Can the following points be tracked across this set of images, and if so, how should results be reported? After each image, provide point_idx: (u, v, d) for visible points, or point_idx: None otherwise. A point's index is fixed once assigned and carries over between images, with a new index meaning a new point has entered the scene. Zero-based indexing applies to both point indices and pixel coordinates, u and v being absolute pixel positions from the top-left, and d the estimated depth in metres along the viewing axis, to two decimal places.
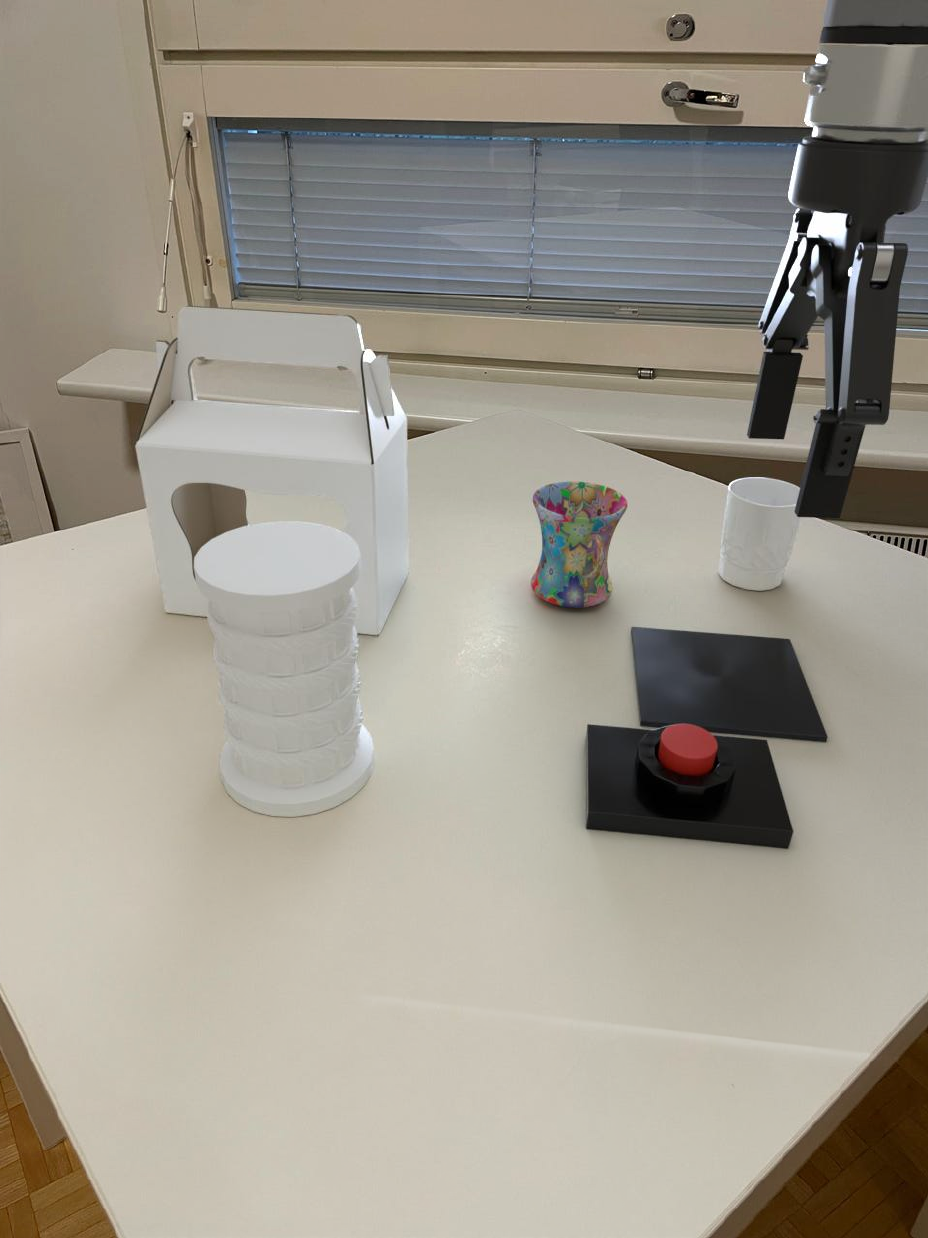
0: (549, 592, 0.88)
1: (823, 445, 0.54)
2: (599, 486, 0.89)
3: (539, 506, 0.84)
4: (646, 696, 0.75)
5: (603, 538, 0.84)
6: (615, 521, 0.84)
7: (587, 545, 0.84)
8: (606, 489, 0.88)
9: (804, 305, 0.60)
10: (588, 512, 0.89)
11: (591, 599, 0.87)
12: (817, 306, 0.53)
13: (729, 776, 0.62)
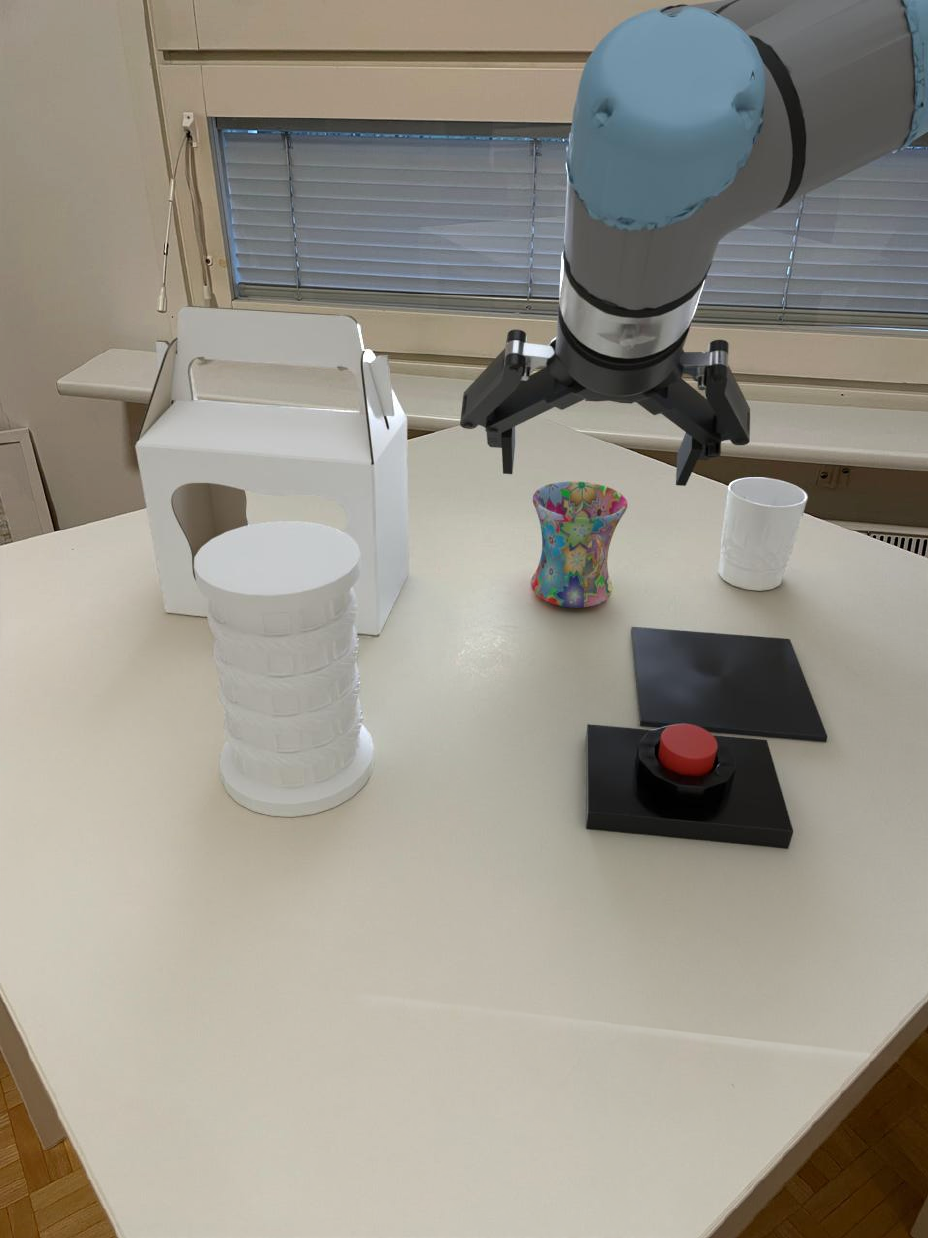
0: (549, 592, 0.88)
1: None
2: (599, 486, 0.89)
3: (539, 506, 0.84)
4: (646, 696, 0.75)
5: (603, 538, 0.84)
6: (615, 521, 0.84)
7: (587, 545, 0.84)
8: (606, 489, 0.88)
9: None
10: (588, 512, 0.89)
11: (591, 599, 0.87)
12: (654, 412, 0.57)
13: (729, 776, 0.62)
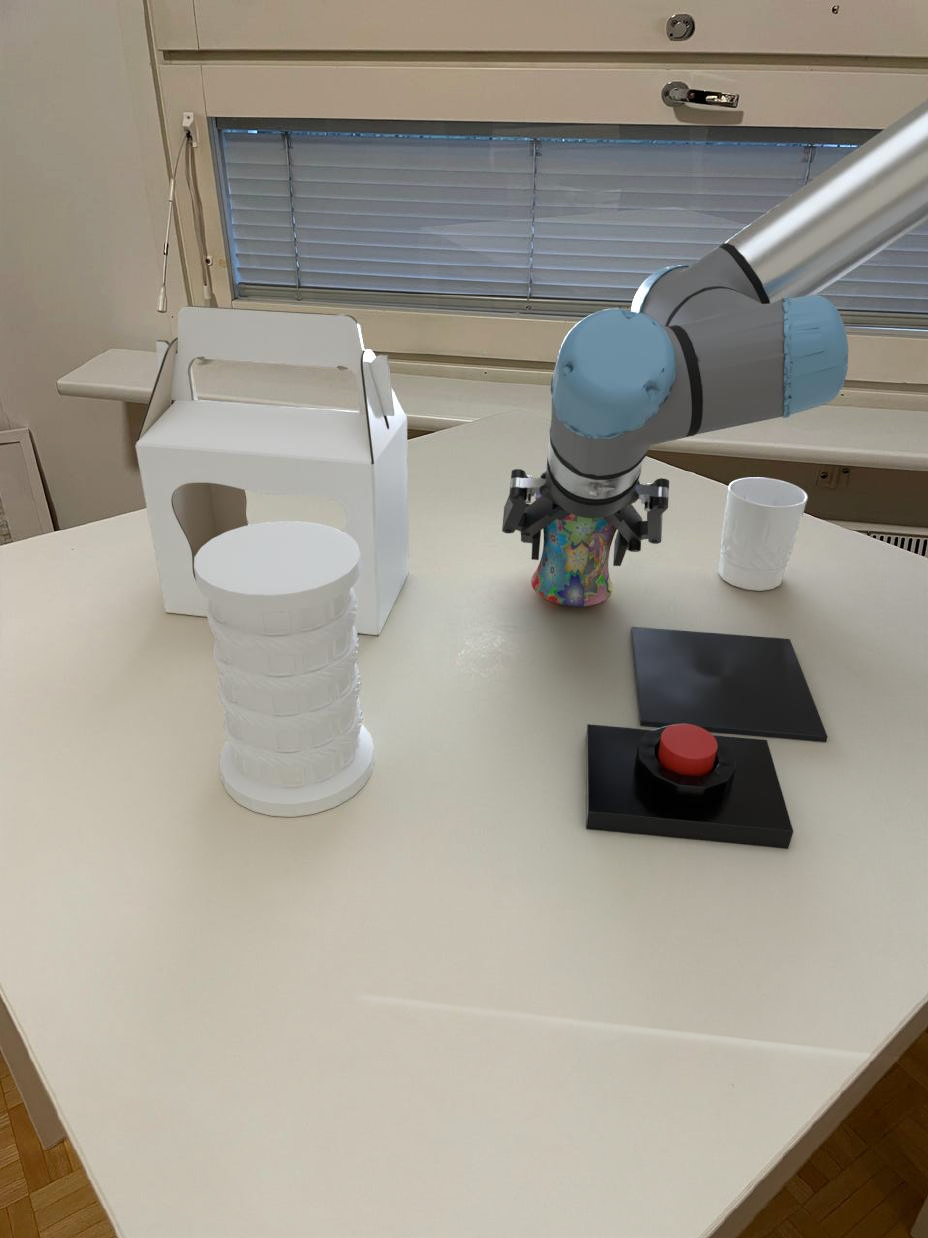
0: (550, 590, 0.88)
1: None
2: None
3: None
4: (646, 696, 0.75)
5: (605, 537, 0.84)
6: None
7: (589, 544, 0.84)
8: None
9: None
10: None
11: (591, 598, 0.87)
12: (609, 522, 0.77)
13: (729, 776, 0.62)
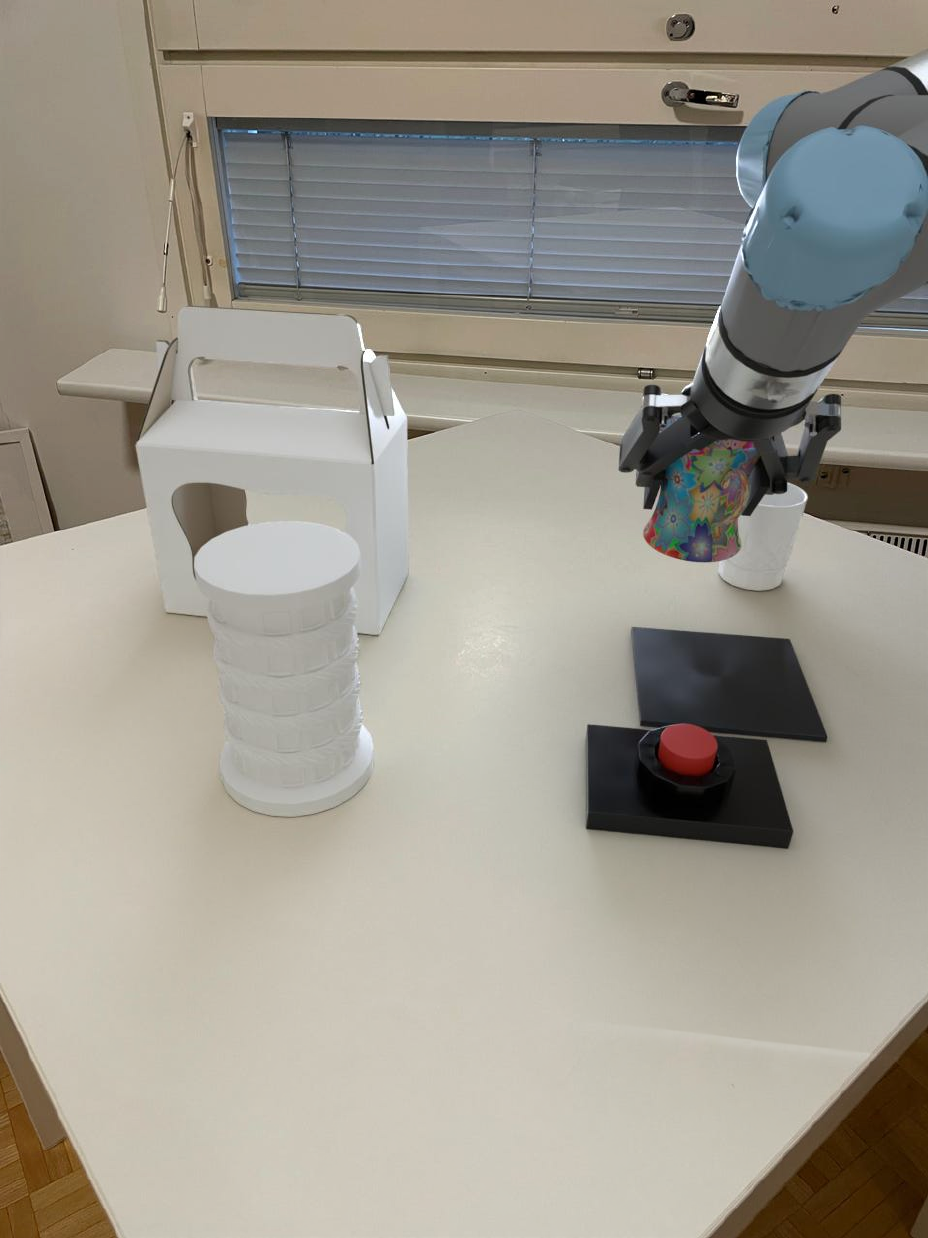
0: (670, 543, 0.73)
1: None
2: None
3: None
4: (646, 696, 0.75)
5: None
6: (758, 456, 0.70)
7: (723, 485, 0.70)
8: None
9: None
10: None
11: (720, 552, 0.73)
12: (760, 452, 0.63)
13: (729, 776, 0.62)
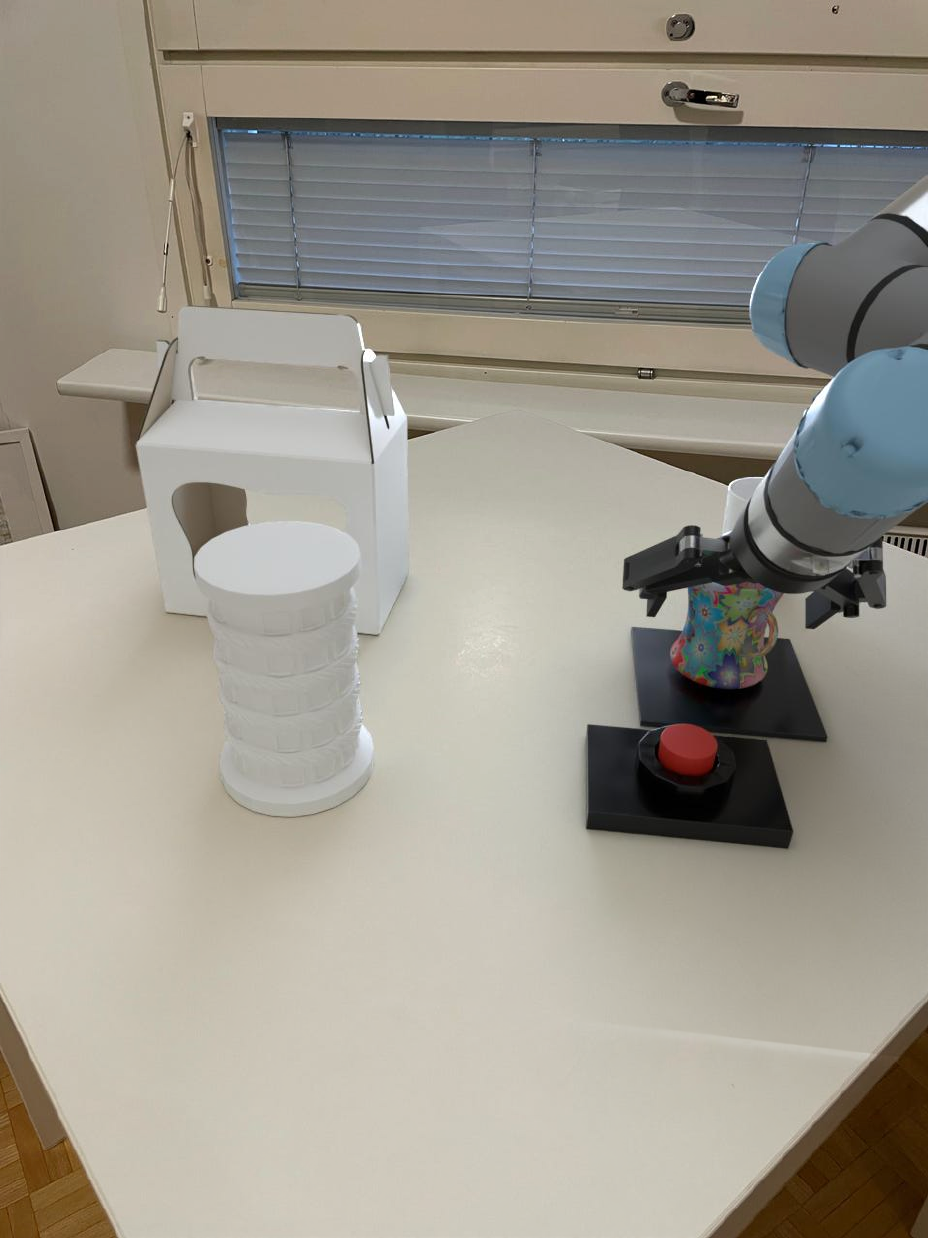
0: (698, 671, 0.75)
1: None
2: None
3: None
4: (646, 696, 0.75)
5: None
6: None
7: (750, 620, 0.71)
8: None
9: None
10: None
11: (748, 680, 0.75)
12: None
13: (729, 776, 0.62)
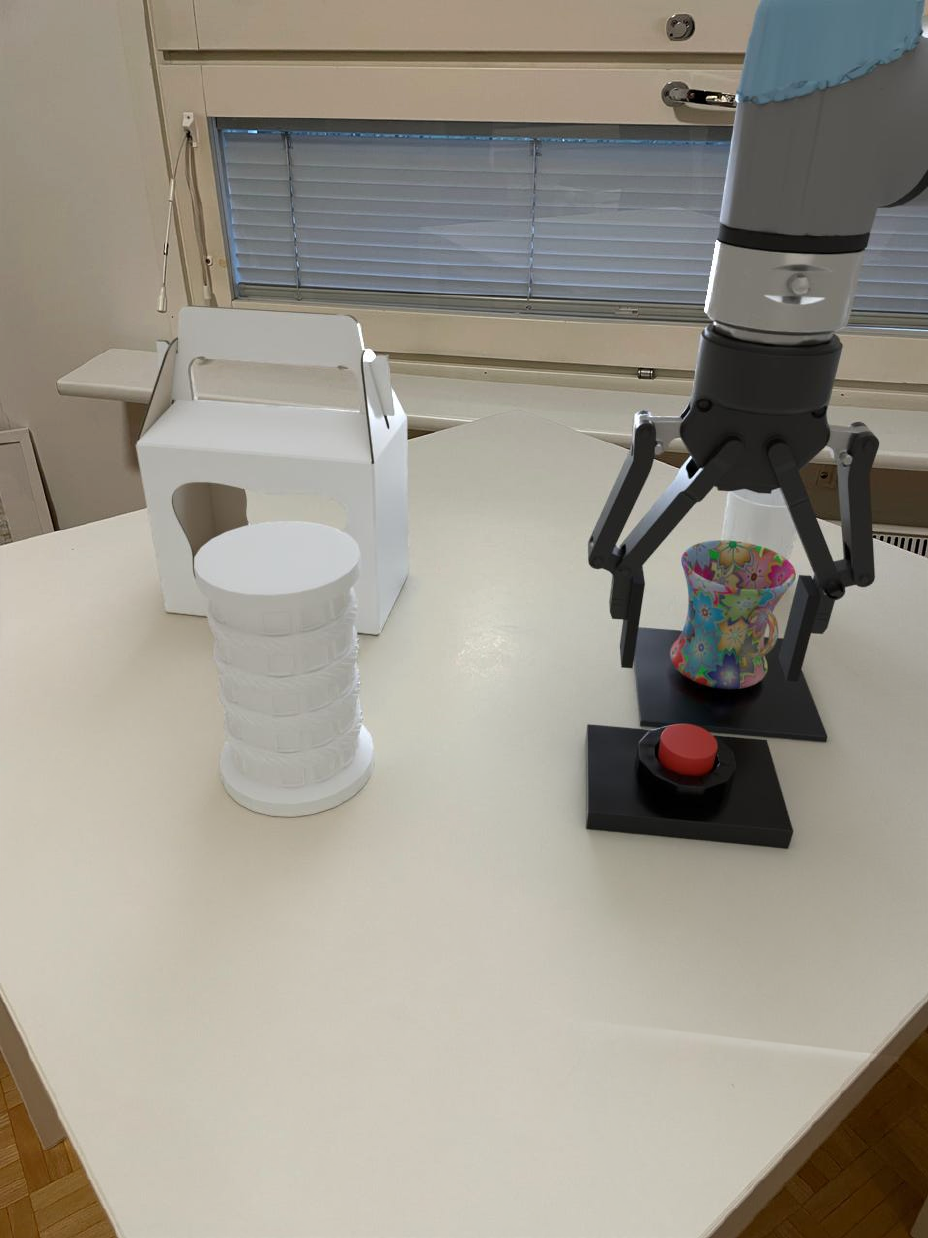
0: (698, 671, 0.75)
1: None
2: (754, 546, 0.76)
3: (694, 574, 0.71)
4: (646, 696, 0.75)
5: None
6: (784, 592, 0.71)
7: (750, 620, 0.71)
8: (764, 550, 0.76)
9: None
10: (740, 576, 0.77)
11: (748, 680, 0.75)
12: (790, 499, 0.51)
13: (729, 776, 0.62)
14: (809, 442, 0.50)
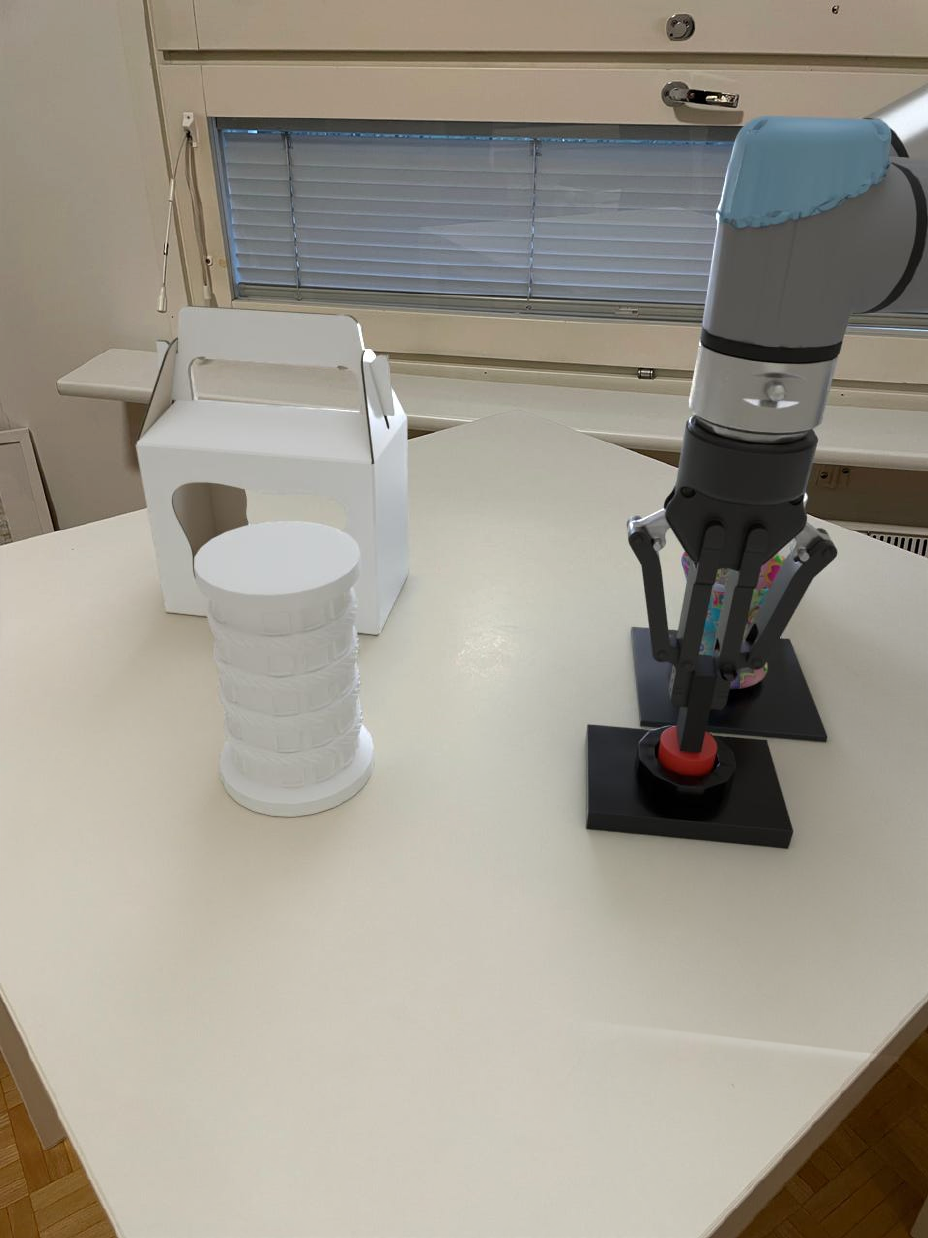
0: None
1: None
2: None
3: None
4: (646, 696, 0.75)
5: None
6: None
7: (750, 620, 0.71)
8: None
9: None
10: None
11: (748, 680, 0.75)
12: (742, 580, 0.54)
13: (729, 776, 0.62)
14: (785, 526, 0.53)
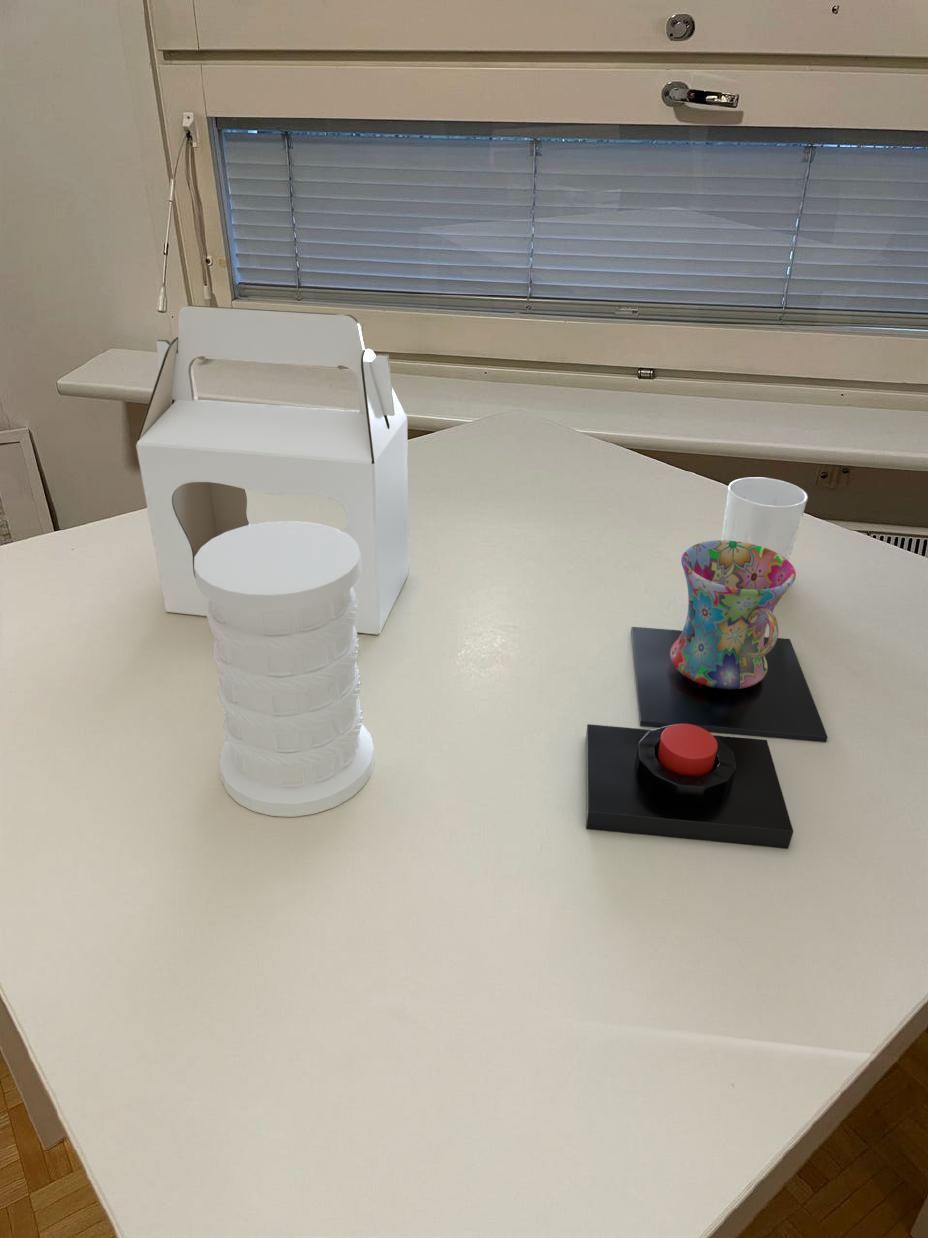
0: (698, 671, 0.75)
1: None
2: (754, 546, 0.76)
3: (694, 574, 0.71)
4: (646, 696, 0.75)
5: None
6: (784, 592, 0.71)
7: (750, 620, 0.71)
8: (764, 550, 0.76)
9: None
10: (740, 576, 0.77)
11: (748, 680, 0.75)
12: None
13: (729, 776, 0.62)
14: None
